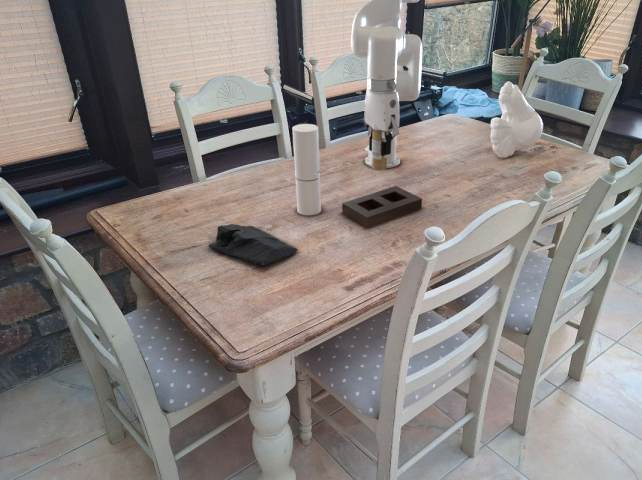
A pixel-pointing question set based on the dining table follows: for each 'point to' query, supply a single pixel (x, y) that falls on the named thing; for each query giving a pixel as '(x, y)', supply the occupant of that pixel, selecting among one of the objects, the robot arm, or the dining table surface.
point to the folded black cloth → (250, 244)
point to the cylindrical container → (307, 168)
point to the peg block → (381, 206)
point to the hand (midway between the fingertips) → (379, 151)
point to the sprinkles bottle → (377, 149)
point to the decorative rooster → (514, 123)
